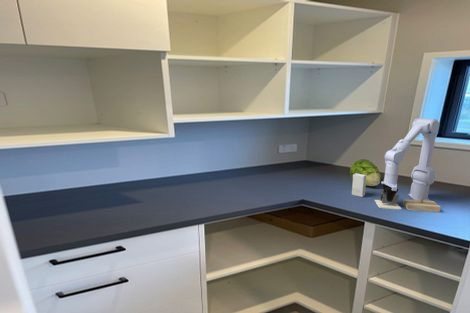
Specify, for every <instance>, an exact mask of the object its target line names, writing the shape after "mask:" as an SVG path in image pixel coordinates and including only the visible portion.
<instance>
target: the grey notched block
mask: <svg viewBox="0 0 470 313" xmlns="http://www.w3.org/2000/svg"><path fill="white" fill-rule="evenodd" d="M399 197H400V195H399V193H398V192H397V193H396V194H395V196H394V198H393V200H392V202H390V201H387V193H386V192H384V190H383V191H381V192H380V198H379V200H380V201H382V203H386V204H394V205H397V204H398V202H399Z"/></svg>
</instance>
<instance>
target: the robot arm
mask: <svg viewBox="0 0 470 313" xmlns="http://www.w3.org/2000/svg"><path fill="white" fill-rule="evenodd" d="M411 124H412V125H411V129H410V130H409V132H407V134H406V136H405V137H404V138H401V139H400V140H398V141H397V143H396V144H395V145H394V146H393V147H392V149H389V150H387V151H386V152H385V153H384V156H383V157H384V163H385V169H384V170H385V171H384V178H383V181H380V183H381V186H382V190H383V191H384V192H386V193H387V201H390V202H392V200H393V198H394V196H395V194H396V193H397V194H398V191H399V189H398V178H399V169H400V163H401V162H403V160H404V156H405V153H406V152H407V151H408V150H409V149H410V148H411V146H412V145H411V143H412V142H413V141H414V140H415V139H416V138H417V137H418V136H419V135H420V134H421V135H422V136H423V138H422V144H421V150H420V156H419V161H418V165H416V166H414V167H413V169H412V171H411V174H410V178H411V179H412V183H411V185H410V191H409V193H407V195H408V196H409V197H410V198H411V200H420V199H421V198H424V199H423V201H432V200H430V199H429V192H430V185H433V183H434V182H435V180H436V170H435V169H434V168H433V167H432V166H431V165H432V159H433V153H434V148H435V143H436V136H437V135H438V133H439V129H440V125H441V124H440V122H439V121H438V119H436V118H434V119H432V118H424V117H423V118H421V117H417V118H415V119H414V121H413V122H412V123H411Z"/></svg>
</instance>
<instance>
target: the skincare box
mask: <svg viewBox="0 0 470 313" xmlns="http://www.w3.org/2000/svg"><path fill="white" fill-rule="evenodd" d="M366 187H367V186H366V175H363V174H357V173H355V174H354V175H353V179H352V188H351V195H352V196H355V197H361V198H363V197H365V196H366Z"/></svg>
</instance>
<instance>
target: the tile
mask: <svg viewBox="0 0 470 313" xmlns="http://www.w3.org/2000/svg"><path fill="white" fill-rule="evenodd" d="M374 202H375V203H376V205H377V206H378V208H379V209H388V210H390V209H391V210H402V207H401V206H400V205H399V204H398V203H397V205H394V204H386V203H382V201H380V199H374Z"/></svg>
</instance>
